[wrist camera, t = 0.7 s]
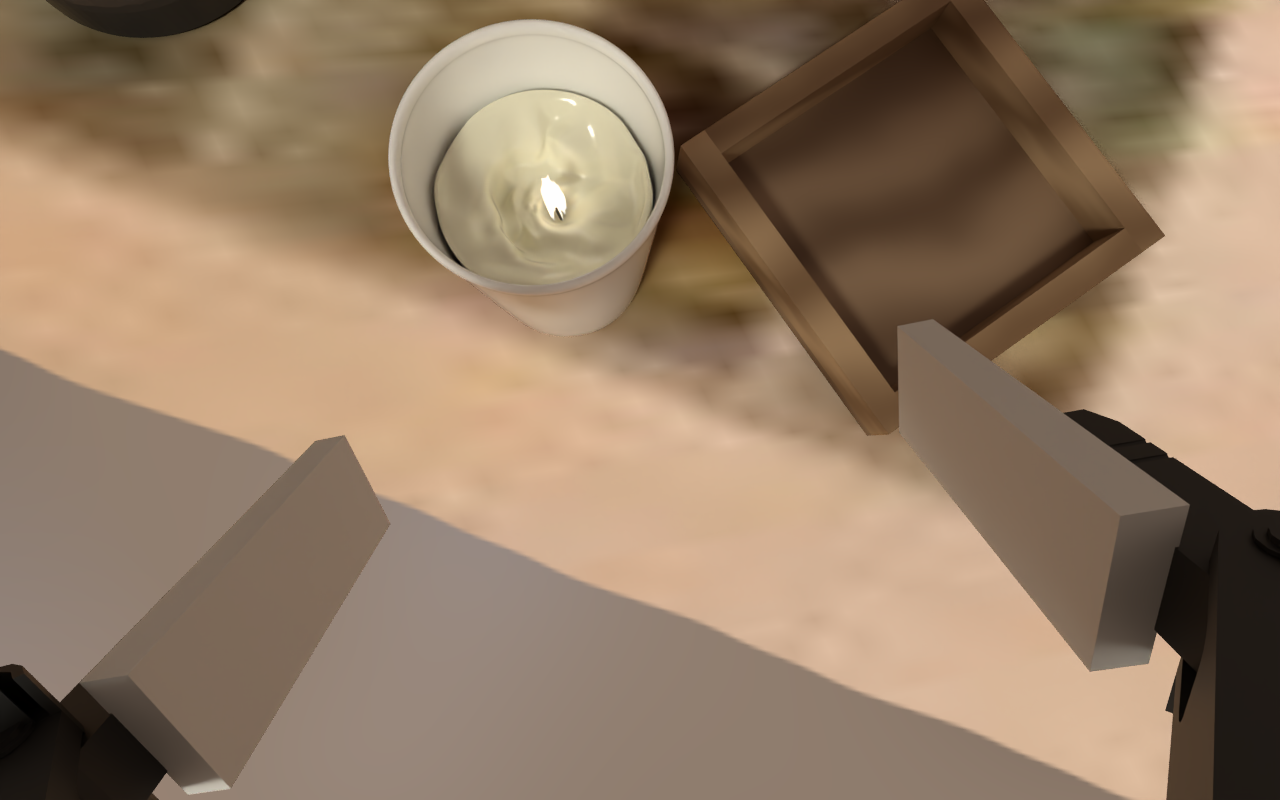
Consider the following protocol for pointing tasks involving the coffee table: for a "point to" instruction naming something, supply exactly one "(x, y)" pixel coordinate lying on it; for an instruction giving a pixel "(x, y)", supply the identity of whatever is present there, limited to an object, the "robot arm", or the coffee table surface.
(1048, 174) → the walnut tray
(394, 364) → the coffee table surface
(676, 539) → the coffee table surface
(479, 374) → the coffee table surface
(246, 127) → the coffee table surface
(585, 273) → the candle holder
